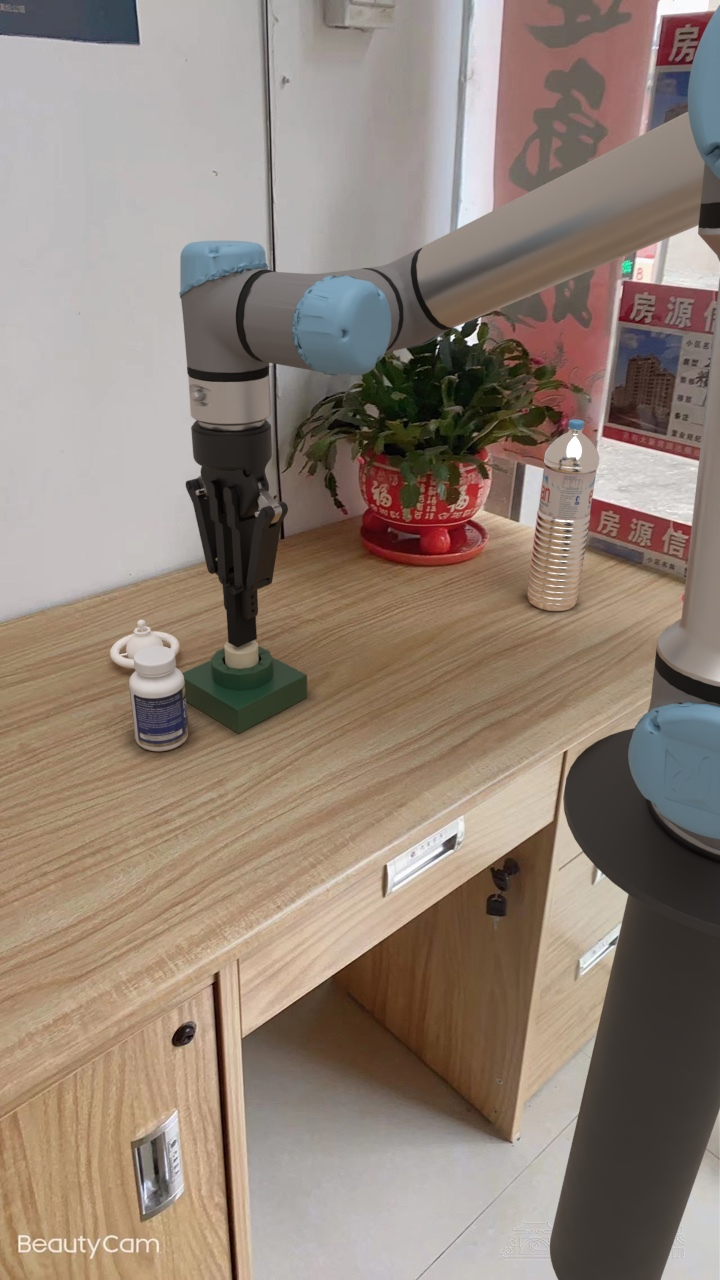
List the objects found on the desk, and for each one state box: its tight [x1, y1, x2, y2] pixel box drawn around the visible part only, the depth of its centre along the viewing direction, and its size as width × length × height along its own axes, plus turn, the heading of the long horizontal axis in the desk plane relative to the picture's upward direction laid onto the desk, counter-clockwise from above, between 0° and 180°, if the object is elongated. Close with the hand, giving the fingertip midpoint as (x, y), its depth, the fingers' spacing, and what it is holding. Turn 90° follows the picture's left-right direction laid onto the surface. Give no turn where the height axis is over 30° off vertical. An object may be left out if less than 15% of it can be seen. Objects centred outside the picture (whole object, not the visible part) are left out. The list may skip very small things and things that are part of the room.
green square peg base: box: [182, 645, 308, 734], centre depth 97 cm, size 10×10×5 cm
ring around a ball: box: [109, 619, 181, 670], centre depth 103 cm, size 8×6×8 cm
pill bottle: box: [128, 646, 189, 752], centre depth 88 cm, size 5×5×10 cm
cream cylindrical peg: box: [223, 639, 259, 669], centre depth 95 cm, size 4×4×2 cm
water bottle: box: [526, 418, 600, 612], centre depth 116 cm, size 7×7×25 cm
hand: (242, 640), depth 94 cm, fingers closed
